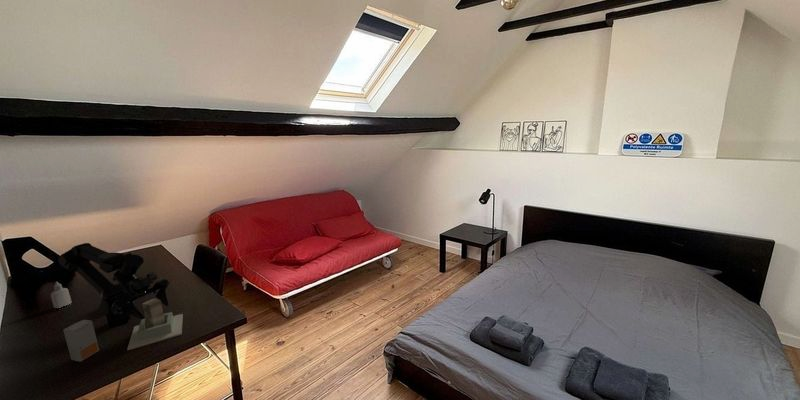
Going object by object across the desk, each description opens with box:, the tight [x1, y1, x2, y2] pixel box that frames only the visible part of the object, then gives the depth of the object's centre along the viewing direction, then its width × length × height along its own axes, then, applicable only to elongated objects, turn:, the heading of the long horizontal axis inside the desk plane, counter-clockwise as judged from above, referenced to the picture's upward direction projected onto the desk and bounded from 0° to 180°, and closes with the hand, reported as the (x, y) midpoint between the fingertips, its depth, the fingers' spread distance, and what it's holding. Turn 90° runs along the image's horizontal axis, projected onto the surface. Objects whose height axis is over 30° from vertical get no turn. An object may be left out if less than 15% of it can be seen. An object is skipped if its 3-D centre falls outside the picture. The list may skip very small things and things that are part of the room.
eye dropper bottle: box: [50, 281, 73, 309], centre depth 144 cm, size 4×6×12 cm
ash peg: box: [142, 297, 165, 328], centre depth 124 cm, size 4×4×12 cm
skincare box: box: [63, 319, 100, 362], centre depth 111 cm, size 6×4×12 cm
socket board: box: [127, 311, 184, 351], centre depth 125 cm, size 16×16×4 cm
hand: (155, 311), depth 123 cm, fingers open, 9 cm apart
